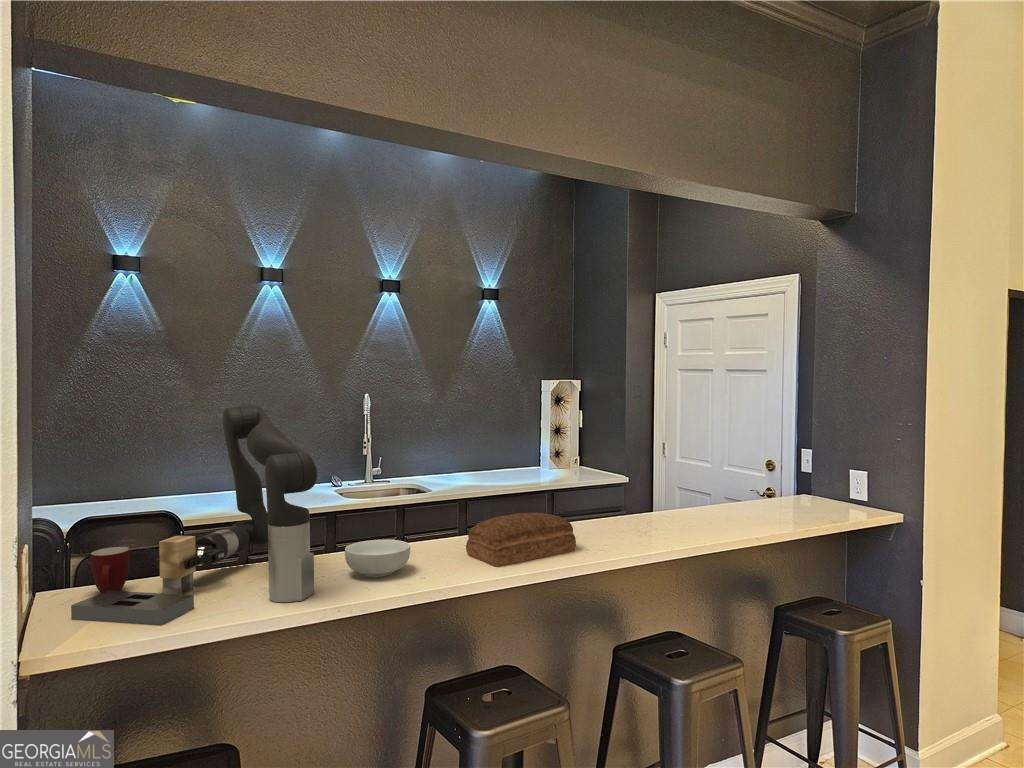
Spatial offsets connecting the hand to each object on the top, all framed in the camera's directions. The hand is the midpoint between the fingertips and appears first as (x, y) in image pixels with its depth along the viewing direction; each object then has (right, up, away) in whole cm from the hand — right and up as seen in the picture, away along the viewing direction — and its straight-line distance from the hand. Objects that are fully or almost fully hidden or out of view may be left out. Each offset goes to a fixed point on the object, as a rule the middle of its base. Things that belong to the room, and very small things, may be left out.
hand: (171, 564), depth 155 cm
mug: (-16, -8, +2) cm, 18 cm away
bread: (+83, -7, +34) cm, 90 cm away
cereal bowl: (+45, -7, +17) cm, 49 cm away
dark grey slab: (-2, -8, -12) cm, 14 cm away
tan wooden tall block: (+1, -7, +2) cm, 8 cm away
